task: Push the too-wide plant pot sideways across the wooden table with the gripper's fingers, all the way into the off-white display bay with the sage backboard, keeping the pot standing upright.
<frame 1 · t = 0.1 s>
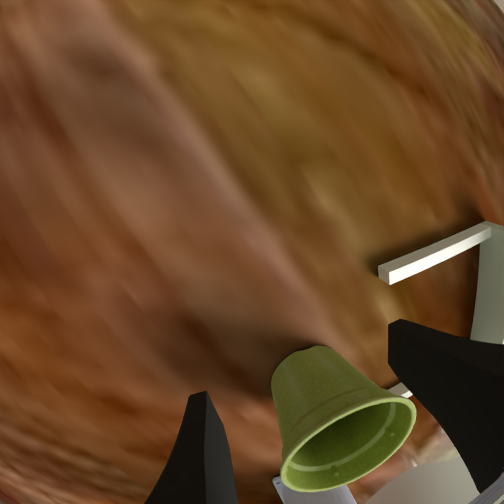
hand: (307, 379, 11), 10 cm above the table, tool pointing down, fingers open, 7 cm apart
display bay: (432, 318, 25), on the table
plant pot: (306, 374, 24), on the table
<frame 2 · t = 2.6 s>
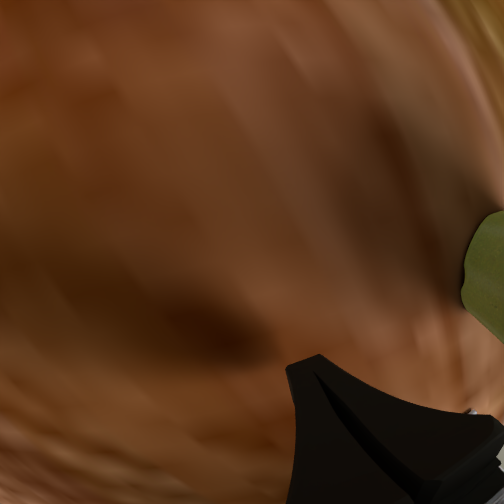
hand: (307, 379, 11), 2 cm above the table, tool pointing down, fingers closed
plant pot: (487, 262, 14), on the table
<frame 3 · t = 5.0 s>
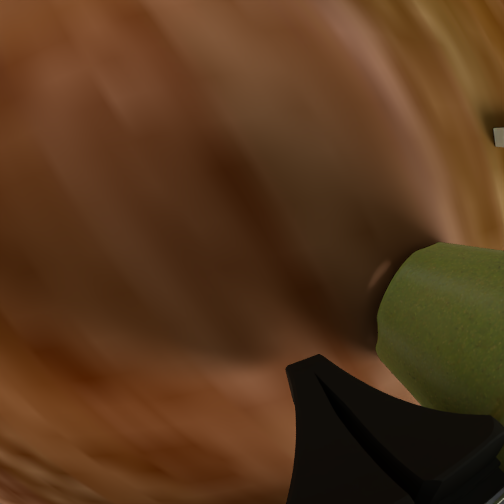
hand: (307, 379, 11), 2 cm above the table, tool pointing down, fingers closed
plant pot: (417, 305, 13), on the table, touching gripper
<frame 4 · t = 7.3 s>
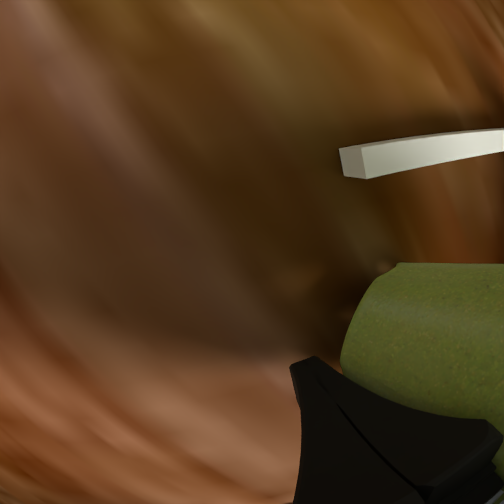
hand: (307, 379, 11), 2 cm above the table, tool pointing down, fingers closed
display bay: (456, 283, 13), on the table
plant pot: (379, 335, 12), point 1 cm above the table, touching gripper
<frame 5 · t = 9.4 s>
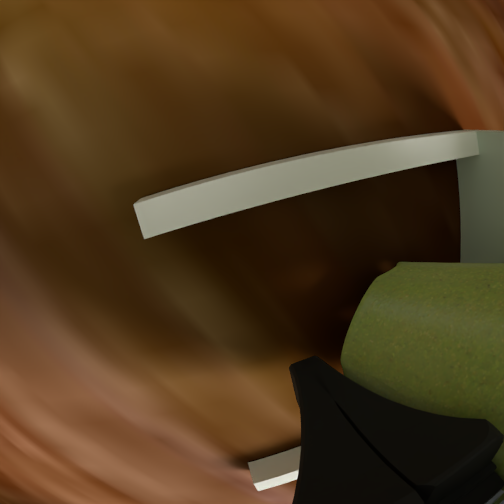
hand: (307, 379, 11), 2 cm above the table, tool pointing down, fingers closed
display bay: (346, 335, 12), on the table
plant pot: (380, 335, 12), point 1 cm above the table, touching gripper
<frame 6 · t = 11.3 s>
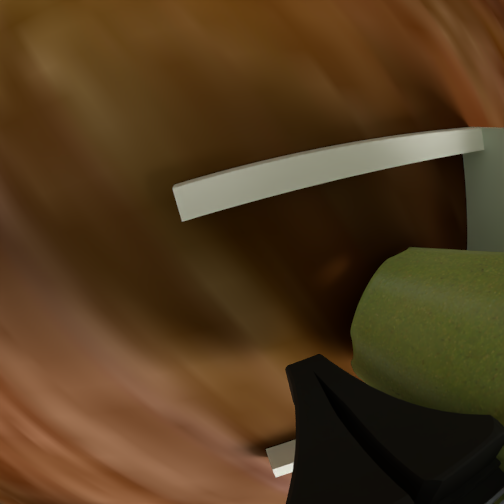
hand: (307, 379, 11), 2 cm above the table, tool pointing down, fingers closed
display bay: (363, 319, 13), on the table
plant pot: (391, 314, 13), point 1 cm above the table
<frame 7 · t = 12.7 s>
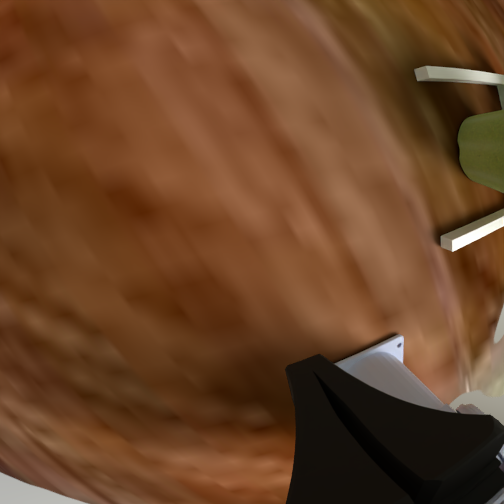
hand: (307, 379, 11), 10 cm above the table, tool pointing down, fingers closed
display bay: (474, 151, 22), on the table
plant pot: (473, 149, 22), on the table
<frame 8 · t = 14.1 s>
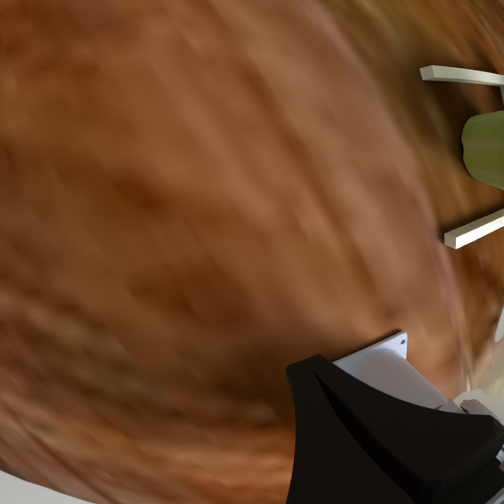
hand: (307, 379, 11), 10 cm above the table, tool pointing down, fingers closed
display bay: (477, 150, 22), on the table
plant pot: (477, 148, 22), on the table
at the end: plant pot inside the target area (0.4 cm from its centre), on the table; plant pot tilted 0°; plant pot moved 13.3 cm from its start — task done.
